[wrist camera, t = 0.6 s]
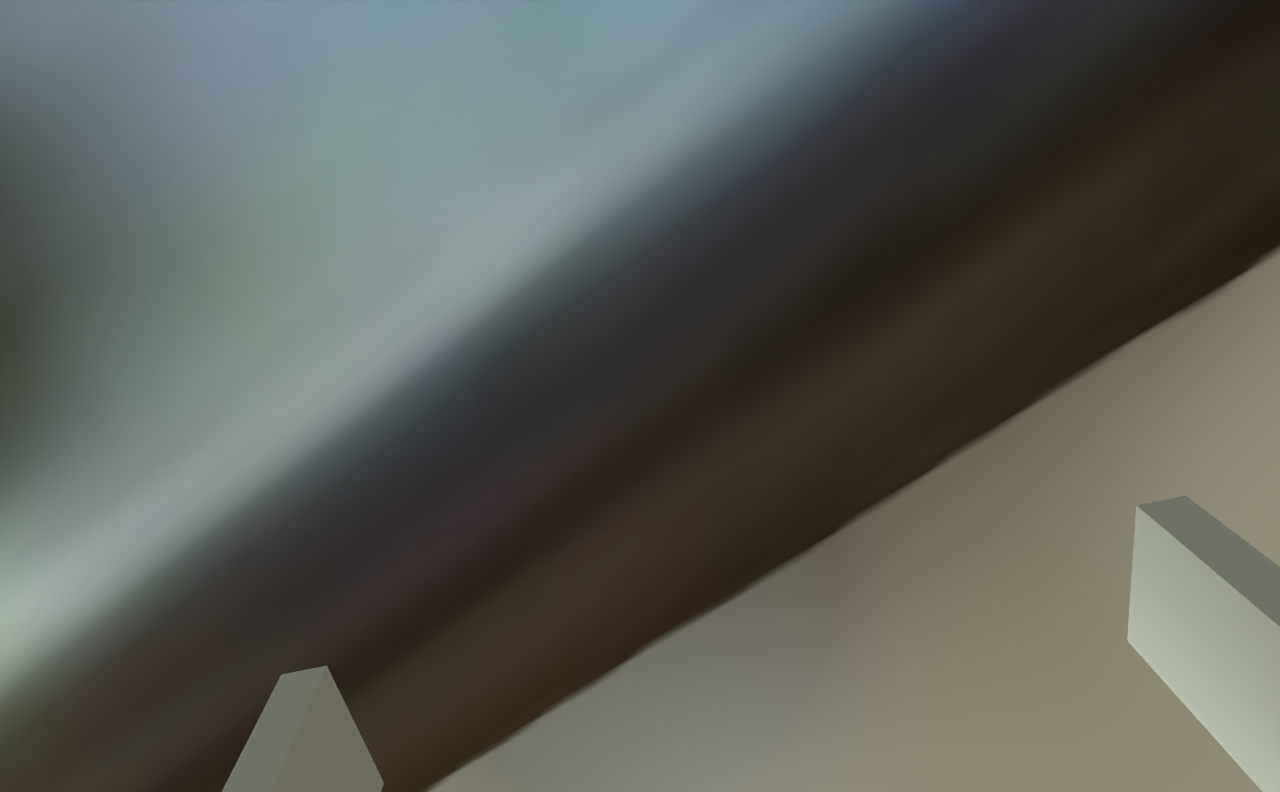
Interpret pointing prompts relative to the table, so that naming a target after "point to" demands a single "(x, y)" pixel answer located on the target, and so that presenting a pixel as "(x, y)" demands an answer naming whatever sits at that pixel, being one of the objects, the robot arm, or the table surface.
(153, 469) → the table surface
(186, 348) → the table surface
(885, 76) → the table surface
